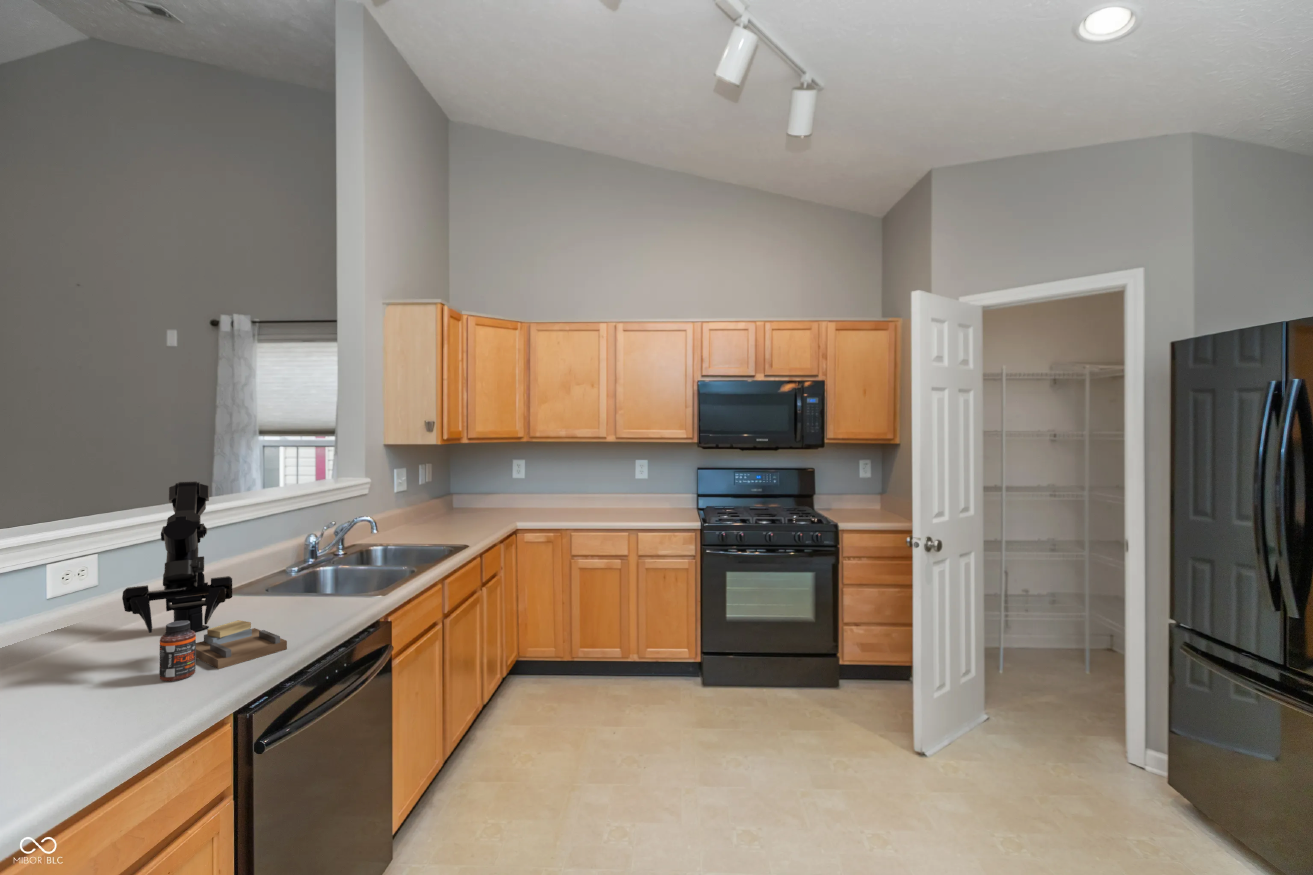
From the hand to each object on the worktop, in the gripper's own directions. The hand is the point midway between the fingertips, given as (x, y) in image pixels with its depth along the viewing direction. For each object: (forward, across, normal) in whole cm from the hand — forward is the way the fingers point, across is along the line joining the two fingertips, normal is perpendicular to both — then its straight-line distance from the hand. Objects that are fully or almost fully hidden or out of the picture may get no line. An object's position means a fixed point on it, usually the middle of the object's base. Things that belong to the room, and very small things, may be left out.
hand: (178, 627), depth 126 cm
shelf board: (+1, +10, +12) cm, 16 cm away
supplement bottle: (+9, 0, +5) cm, 10 cm away
